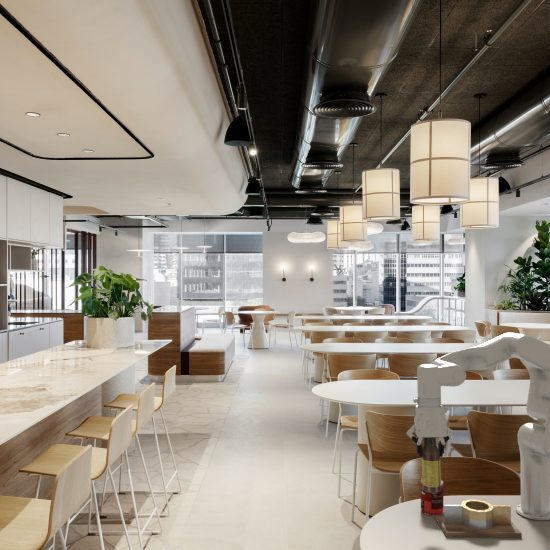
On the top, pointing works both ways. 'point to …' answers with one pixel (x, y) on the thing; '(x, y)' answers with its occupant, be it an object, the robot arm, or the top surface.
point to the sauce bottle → (431, 466)
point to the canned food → (432, 501)
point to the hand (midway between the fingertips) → (430, 455)
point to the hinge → (477, 514)
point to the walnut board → (464, 531)
